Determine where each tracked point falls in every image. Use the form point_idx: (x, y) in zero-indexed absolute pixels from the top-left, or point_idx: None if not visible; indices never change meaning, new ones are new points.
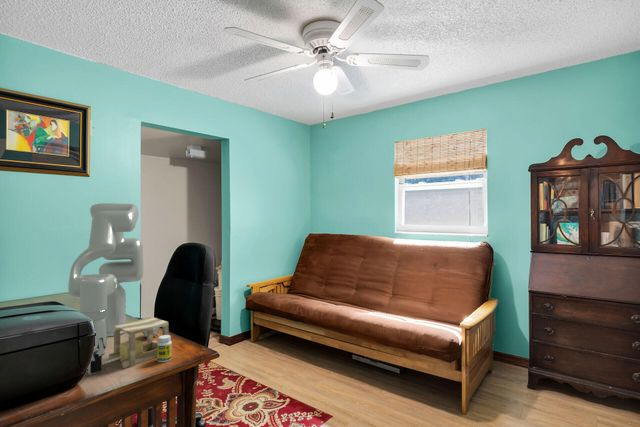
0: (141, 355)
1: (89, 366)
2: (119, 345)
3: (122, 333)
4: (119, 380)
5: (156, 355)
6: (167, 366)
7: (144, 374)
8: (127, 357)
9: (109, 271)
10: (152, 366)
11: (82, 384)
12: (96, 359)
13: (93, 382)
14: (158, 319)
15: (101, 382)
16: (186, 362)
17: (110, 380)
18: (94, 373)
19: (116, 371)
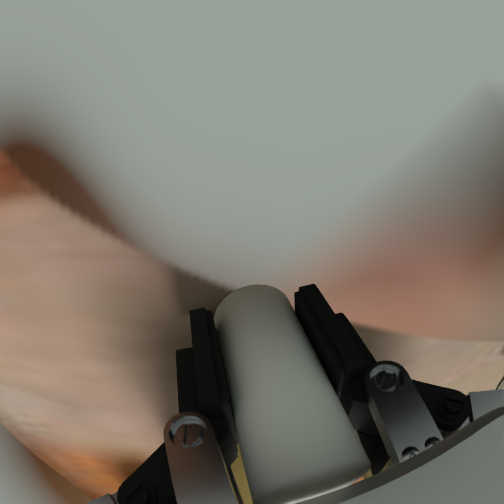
0: None
1: (251, 340)
2: (364, 476)
3: (499, 387)
4: (13, 383)
5: None
6: (90, 484)
7: (44, 444)
8: (234, 472)
9: None
10: (118, 473)
11: (47, 213)
12: (162, 452)
13: (41, 285)
14: None
15: (19, 321)
16: None
17: (28, 360)
18: (214, 321)
19: (154, 406)
